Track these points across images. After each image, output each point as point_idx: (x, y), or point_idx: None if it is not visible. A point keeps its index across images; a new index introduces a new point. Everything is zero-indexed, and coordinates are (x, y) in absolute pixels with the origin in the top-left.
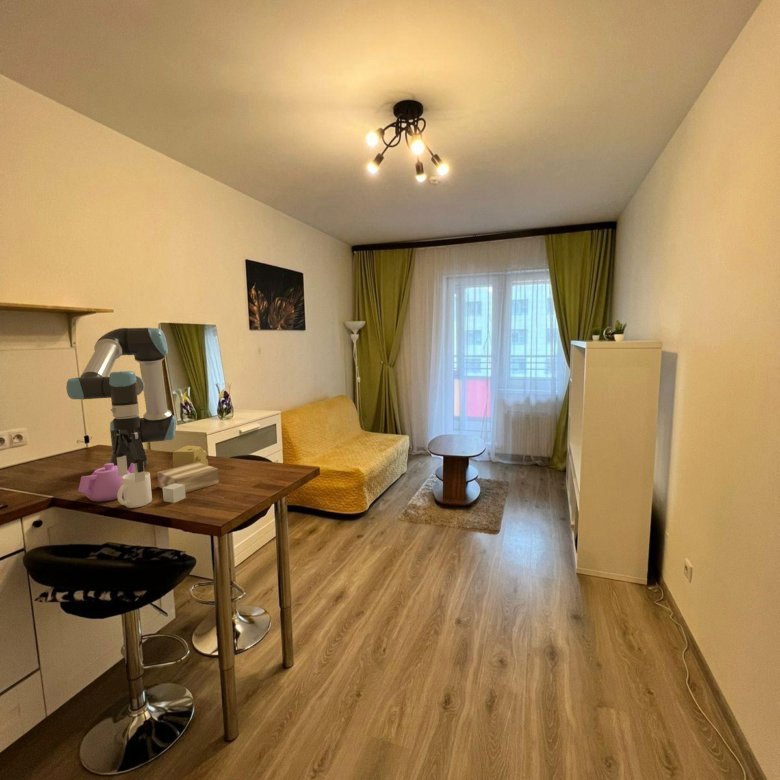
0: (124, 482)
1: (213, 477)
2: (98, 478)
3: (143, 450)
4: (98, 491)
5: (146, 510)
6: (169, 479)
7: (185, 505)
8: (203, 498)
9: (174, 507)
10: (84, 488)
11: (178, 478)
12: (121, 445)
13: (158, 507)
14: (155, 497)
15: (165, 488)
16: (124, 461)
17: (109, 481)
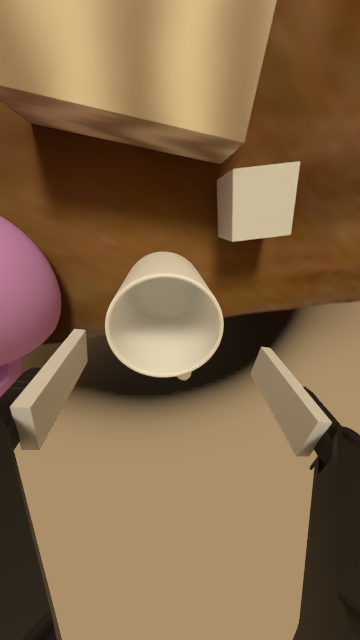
0: (168, 367)
1: None
2: None
3: None
4: (29, 352)
5: (234, 305)
6: (147, 127)
7: (318, 229)
8: (343, 144)
9: (295, 256)
10: None
11: (235, 125)
12: (54, 614)
13: (248, 278)
14: (158, 226)
15: (248, 239)
16: (54, 387)
17: (15, 341)
